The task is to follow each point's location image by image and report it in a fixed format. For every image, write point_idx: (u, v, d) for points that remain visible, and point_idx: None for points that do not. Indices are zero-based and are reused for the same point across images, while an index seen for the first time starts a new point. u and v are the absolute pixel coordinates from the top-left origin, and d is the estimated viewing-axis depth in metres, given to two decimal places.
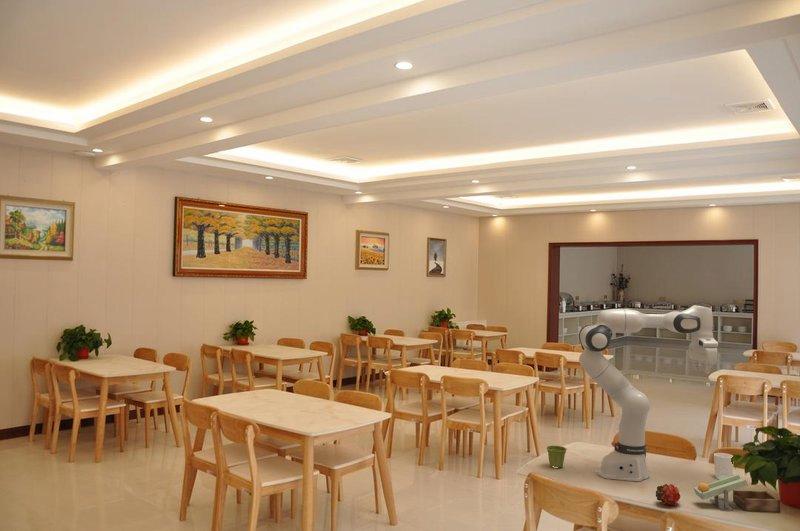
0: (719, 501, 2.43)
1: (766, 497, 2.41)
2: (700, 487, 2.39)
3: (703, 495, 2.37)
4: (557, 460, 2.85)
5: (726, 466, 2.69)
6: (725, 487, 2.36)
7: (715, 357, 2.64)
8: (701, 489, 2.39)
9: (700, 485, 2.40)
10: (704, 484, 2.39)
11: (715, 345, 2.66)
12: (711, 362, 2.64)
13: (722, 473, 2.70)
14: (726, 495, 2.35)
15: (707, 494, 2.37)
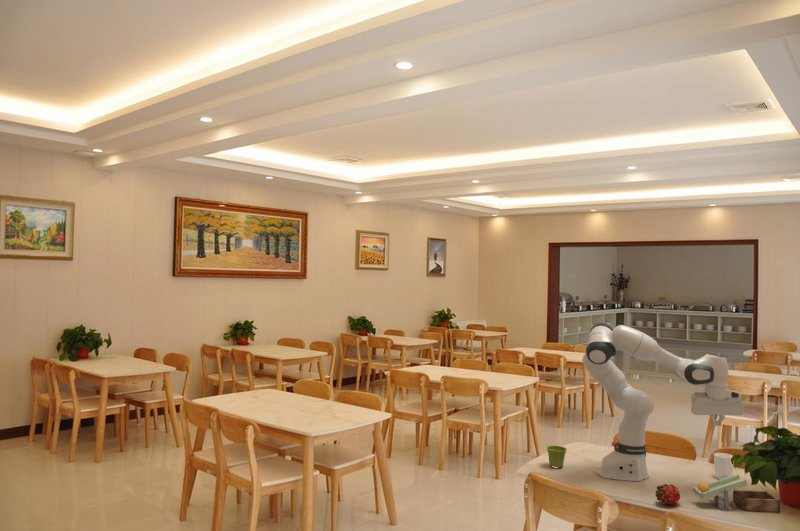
0: (719, 501, 2.43)
1: (766, 497, 2.41)
2: (700, 487, 2.39)
3: (703, 495, 2.37)
4: (557, 460, 2.85)
5: (726, 466, 2.69)
6: (725, 487, 2.36)
7: None
8: (701, 489, 2.39)
9: (700, 485, 2.40)
10: (704, 484, 2.39)
11: None
12: None
13: (722, 473, 2.70)
14: (726, 495, 2.35)
15: (707, 494, 2.37)
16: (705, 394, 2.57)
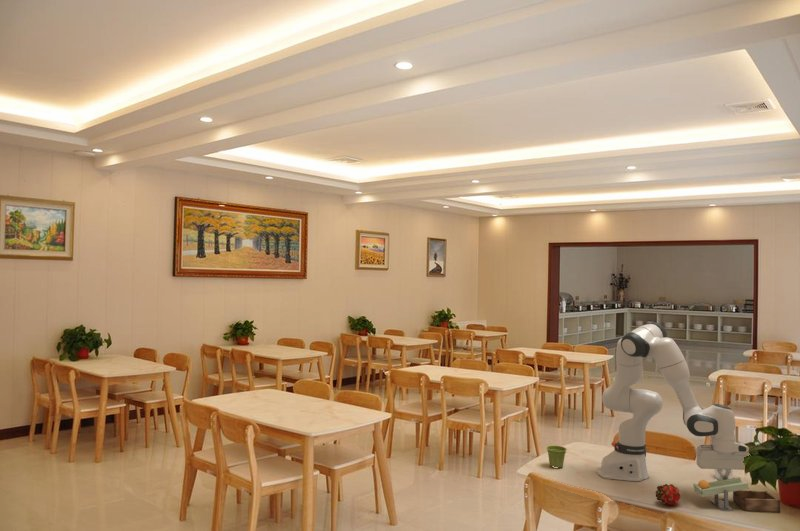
0: (719, 501, 2.43)
1: (766, 497, 2.41)
2: (700, 484, 2.39)
3: (703, 492, 2.37)
4: (557, 460, 2.85)
5: None
6: (726, 487, 2.36)
7: None
8: (701, 486, 2.39)
9: (701, 482, 2.40)
10: (705, 482, 2.39)
11: None
12: None
13: (722, 473, 2.70)
14: (726, 495, 2.35)
15: (707, 492, 2.37)
16: (711, 447, 2.47)
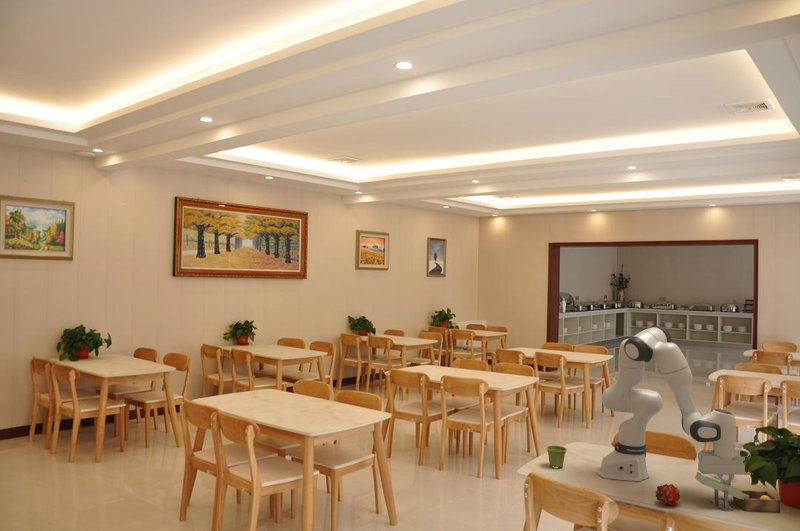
0: (719, 501, 2.43)
1: None
2: (763, 498, 2.37)
3: (705, 481, 2.37)
4: (557, 460, 2.85)
5: None
6: (728, 488, 2.36)
7: None
8: None
9: (764, 497, 2.38)
10: (768, 498, 2.37)
11: None
12: None
13: None
14: (726, 495, 2.35)
15: (709, 482, 2.37)
16: (713, 452, 2.46)
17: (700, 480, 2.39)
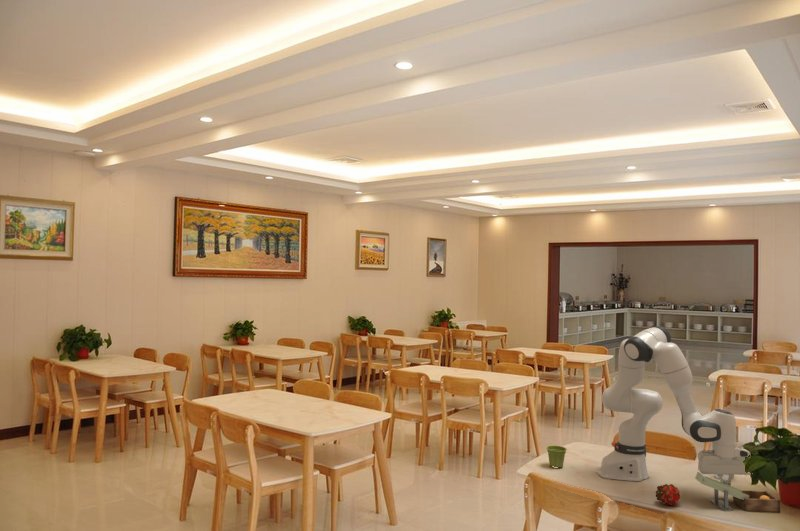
0: (719, 501, 2.43)
1: None
2: (763, 498, 2.37)
3: (705, 481, 2.37)
4: (557, 460, 2.85)
5: None
6: (728, 488, 2.36)
7: None
8: None
9: (763, 497, 2.38)
10: (768, 497, 2.37)
11: None
12: None
13: None
14: (726, 495, 2.35)
15: (709, 482, 2.37)
16: (713, 452, 2.46)
17: (700, 480, 2.39)
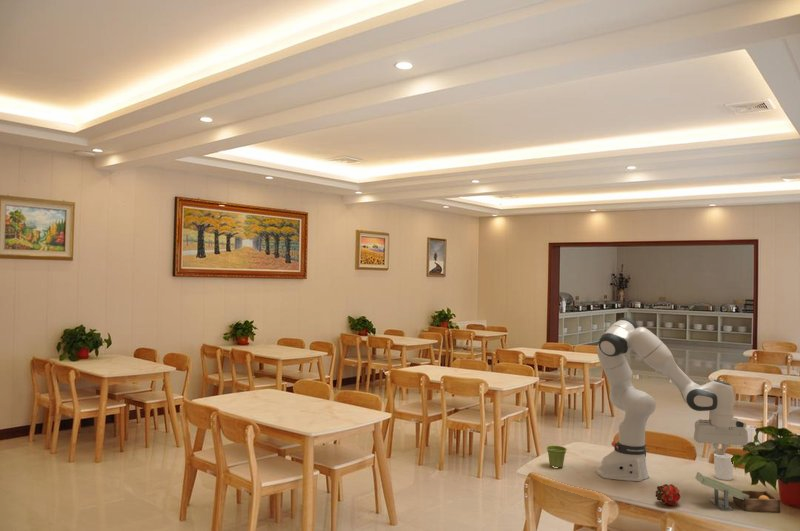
0: (719, 501, 2.43)
1: None
2: None
3: (705, 481, 2.37)
4: (557, 460, 2.85)
5: (726, 466, 2.69)
6: (728, 488, 2.36)
7: None
8: None
9: (762, 497, 2.38)
10: (766, 497, 2.37)
11: None
12: None
13: (722, 473, 2.70)
14: (726, 495, 2.35)
15: (709, 482, 2.37)
16: (709, 422, 2.49)
17: (700, 480, 2.39)
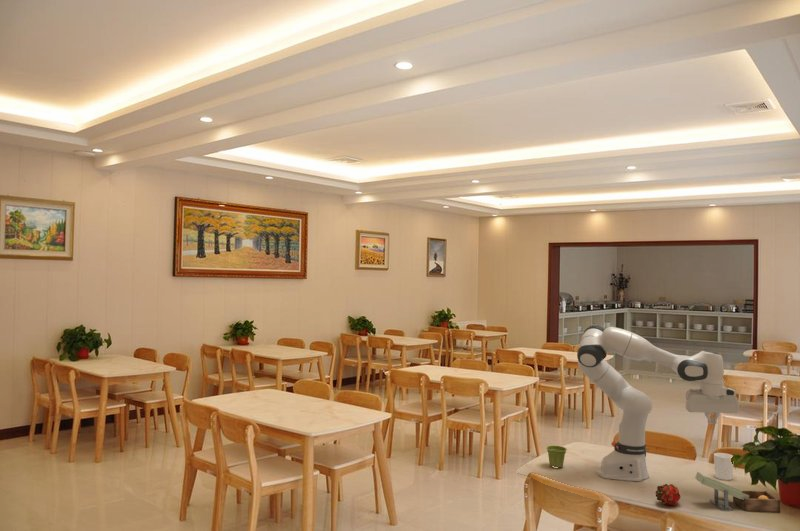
0: (719, 501, 2.43)
1: None
2: None
3: (705, 481, 2.37)
4: (557, 460, 2.85)
5: (726, 466, 2.69)
6: (728, 488, 2.36)
7: None
8: None
9: (761, 497, 2.38)
10: (765, 497, 2.37)
11: None
12: None
13: (722, 473, 2.70)
14: (726, 495, 2.35)
15: (709, 482, 2.37)
16: (700, 391, 2.53)
17: (700, 480, 2.39)
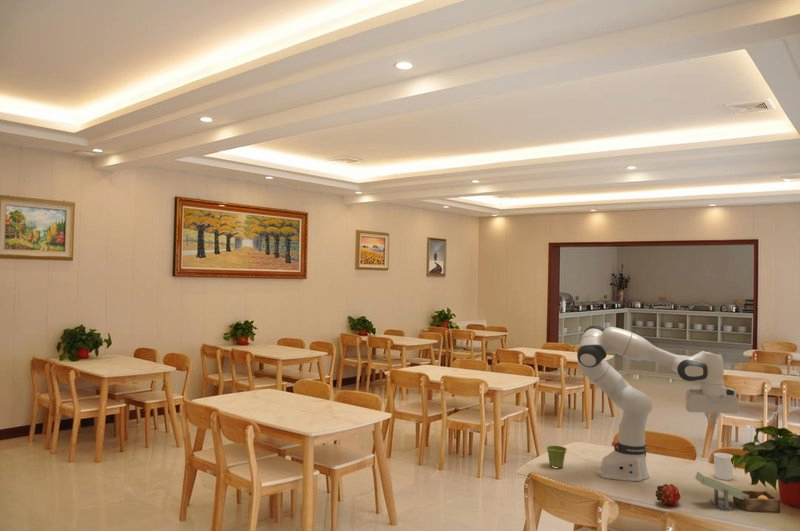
0: (719, 501, 2.43)
1: None
2: None
3: (705, 481, 2.37)
4: (557, 460, 2.85)
5: (726, 466, 2.69)
6: (728, 488, 2.36)
7: None
8: None
9: (760, 498, 2.38)
10: (764, 497, 2.37)
11: None
12: None
13: (722, 473, 2.70)
14: (726, 495, 2.35)
15: (709, 482, 2.37)
16: (700, 391, 2.53)
17: (700, 480, 2.39)
